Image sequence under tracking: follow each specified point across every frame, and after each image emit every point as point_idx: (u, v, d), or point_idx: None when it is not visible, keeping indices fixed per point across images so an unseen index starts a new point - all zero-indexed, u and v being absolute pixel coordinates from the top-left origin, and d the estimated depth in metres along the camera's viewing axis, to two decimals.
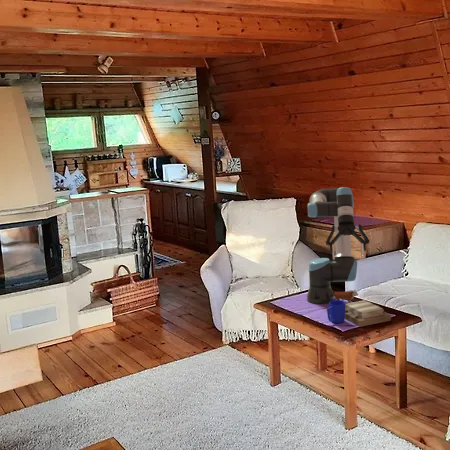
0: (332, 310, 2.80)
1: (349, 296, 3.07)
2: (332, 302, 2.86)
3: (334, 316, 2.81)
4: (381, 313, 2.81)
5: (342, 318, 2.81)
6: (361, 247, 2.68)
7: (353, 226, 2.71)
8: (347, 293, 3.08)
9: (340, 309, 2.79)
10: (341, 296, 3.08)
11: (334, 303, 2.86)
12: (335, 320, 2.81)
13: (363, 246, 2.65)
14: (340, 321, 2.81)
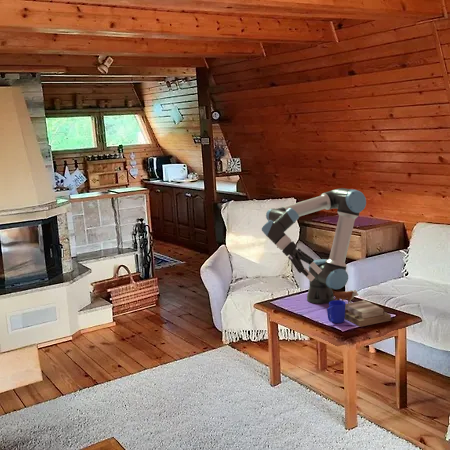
0: (332, 310, 2.80)
1: (349, 296, 3.07)
2: (332, 302, 2.86)
3: (334, 316, 2.81)
4: (381, 313, 2.81)
5: (342, 318, 2.81)
6: (306, 269, 2.77)
7: None
8: (347, 293, 3.08)
9: (340, 309, 2.79)
10: (341, 296, 3.08)
11: (334, 303, 2.86)
12: (335, 320, 2.81)
13: None
14: (340, 321, 2.81)
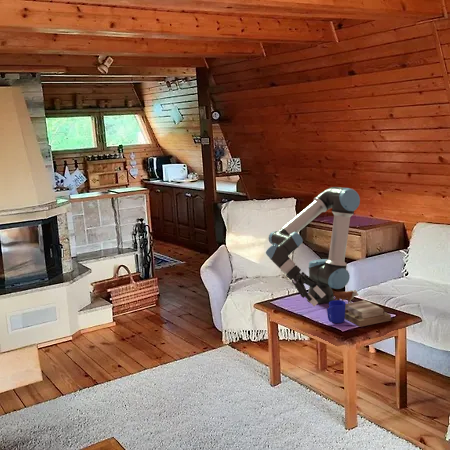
0: (332, 310, 2.80)
1: (349, 296, 3.07)
2: (332, 302, 2.86)
3: (334, 316, 2.81)
4: (381, 313, 2.81)
5: (342, 318, 2.81)
6: (310, 294, 2.78)
7: None
8: (347, 293, 3.08)
9: (340, 309, 2.79)
10: (341, 296, 3.08)
11: (334, 303, 2.86)
12: (335, 320, 2.81)
13: (307, 299, 2.78)
14: (340, 321, 2.81)
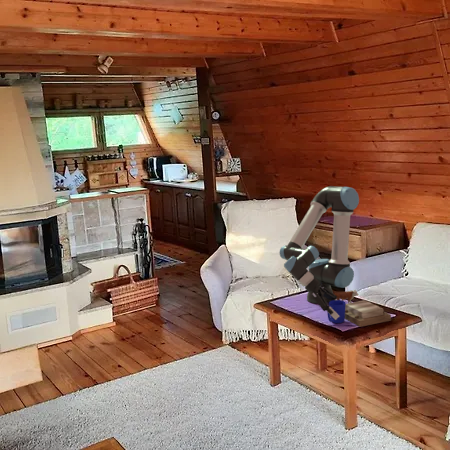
0: None
1: (349, 296, 3.07)
2: (332, 302, 2.85)
3: None
4: (381, 313, 2.81)
5: (342, 318, 2.81)
6: (331, 308, 2.76)
7: None
8: (347, 293, 3.08)
9: (340, 309, 2.79)
10: (341, 296, 3.08)
11: (334, 303, 2.86)
12: (335, 320, 2.81)
13: (328, 312, 2.77)
14: (340, 321, 2.81)
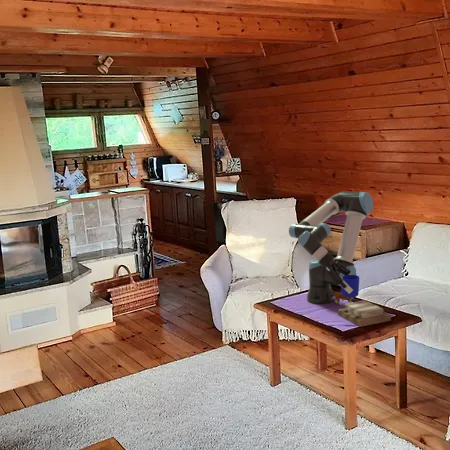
0: None
1: None
2: (346, 276, 2.85)
3: None
4: (381, 313, 2.81)
5: (356, 292, 2.80)
6: (344, 282, 2.75)
7: None
8: None
9: (354, 284, 2.78)
10: (341, 296, 3.08)
11: (348, 277, 2.85)
12: (349, 294, 2.80)
13: None
14: (354, 295, 2.80)
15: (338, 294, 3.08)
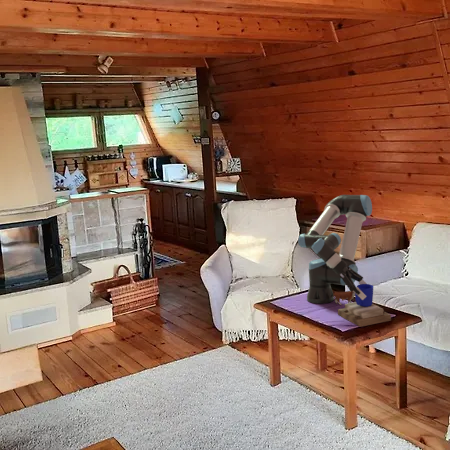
0: None
1: (349, 296, 3.07)
2: (360, 286, 2.89)
3: None
4: (381, 313, 2.81)
5: (370, 302, 2.84)
6: None
7: None
8: (347, 293, 3.08)
9: (368, 293, 2.83)
10: (341, 296, 3.08)
11: (362, 287, 2.89)
12: (363, 303, 2.85)
13: None
14: (368, 304, 2.84)
15: (338, 294, 3.08)
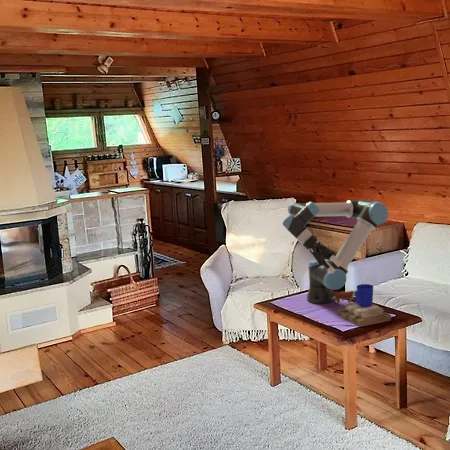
0: (360, 293, 2.84)
1: (349, 296, 3.07)
2: (360, 286, 2.89)
3: (362, 299, 2.84)
4: (381, 313, 2.81)
5: (370, 302, 2.84)
6: (327, 262, 2.83)
7: None
8: (347, 293, 3.08)
9: (368, 293, 2.83)
10: (341, 296, 3.08)
11: (362, 287, 2.90)
12: (363, 303, 2.85)
13: (325, 267, 2.84)
14: (368, 304, 2.84)
15: (338, 294, 3.08)
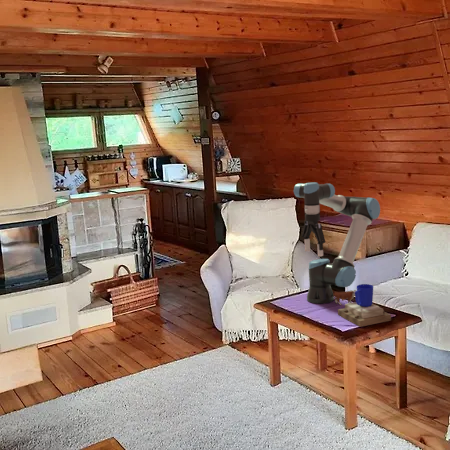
0: (360, 293, 2.84)
1: (349, 296, 3.07)
2: (360, 286, 2.89)
3: (362, 299, 2.84)
4: (381, 313, 2.81)
5: (370, 302, 2.84)
6: None
7: (314, 225, 2.85)
8: (347, 293, 3.08)
9: (368, 293, 2.83)
10: (341, 296, 3.08)
11: (362, 287, 2.90)
12: (363, 303, 2.85)
13: (318, 247, 2.83)
14: (368, 304, 2.84)
15: (338, 294, 3.08)
